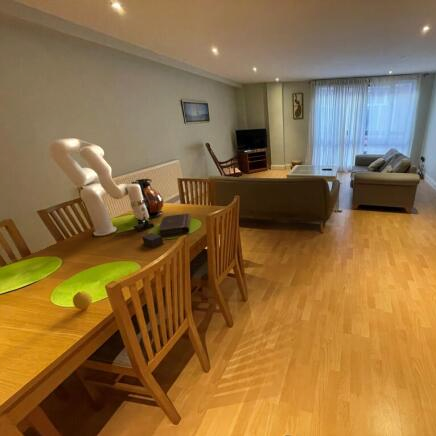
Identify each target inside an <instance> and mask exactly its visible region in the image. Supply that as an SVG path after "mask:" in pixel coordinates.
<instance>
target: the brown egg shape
mask: <svg viewBox="0 0 436 436" xmlns="http://www.w3.org/2000/svg"><path fill="white" fill-rule="evenodd" d="M72 303H73V306H74V307H75V308H76V309H78V310H86V309H88V308H89V307H90V306H91V305H92V303H93V297H92V295H91V294H90V293H89V292H88V291H84V290H83V291H78V292H76V293H75V294H74V295H73V298H72Z"/></svg>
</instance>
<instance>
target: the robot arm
mask: <svg viewBox="0 0 436 436" xmlns="http://www.w3.org/2000/svg"><path fill="white" fill-rule="evenodd" d="M48 153H49V156H50V158H51V159H52V161H53V162H54V163H55V164H56V165H57V166H58V167H59V168H60V169H61V171H62V172H63V173H64V175H65V176H66V177H67V178H68V179H69V180H70V182H71V183H72V184H74V185H75V186H78V187H82V186H83V188H82V190H81V191H80V195H79V196H80V198H81V200H82V201H83V203H84V205H85V207H86V209H87V211H88V215H89V217H90V220H91V222H92V225H93V228H94V230H95V231H94V232H93V235H94V236H95V237H104V236H109V235H110V234H113V233H115V232H117V229H118V228H117V227H116V226H113V223H112V220H111V217H110V212H109V211H108V208H107V205H106V203H105V202H104V200H103V198H104V197H105V196H106V195H108V196H109V197H110V198H112V199H114V200H121V199H123V198H124V197H125V196H128V198H129V202H130V207H131V206H132V207H133V209H132V212H133V216H134V217H135V219H136V222H137V225H139V224H142V223H144V224H143V226H144V229H145V230H147V229H150V228H149V224H148V221H149V220H150V219H148V218H149V215H148V212H147V209H146V206H145V205H144V204H145V203H144V199H143V196H142V192H141V188H140V185H139V184H132V183H120V184H116V182H115V181H114V179H113V178H112V177H113V176H112V167H111V166H110V164H109V163H108V162H107V161H106V159H104V156H105V151H104V149H103V148H102V147H101V146H99V145H97V144H94V143H92V142H88V141H85V140H81V139H78V138H74V137H68V138H59V139H56V140H53V141H52V142H51V143H50V144H49V146H48ZM72 154H79V155H80V157H81V158H82V160H83V161H84V162H85V163H86V164H87V165H88V166H89V167H82V166H81V165H80V164H79V162H77V160H76V159H74V158H73V157H72V156H71V155H72ZM84 186H85V187H84ZM132 207H131V208H132ZM143 218H145V219H143Z"/></svg>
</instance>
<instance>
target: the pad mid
mask: <svg viewBox="0 0 436 436" xmlns="http://www.w3.org/2000/svg"><path fill="white" fill-rule="evenodd" d="M141 238H142V241H143V240H144V241H146V242H148V243H150V244H154V243H157V242H159V241H161V240H162V241H163V237H161V236H160V234H157V233H154V232H149V233H147V234H145V235H142V236H141Z"/></svg>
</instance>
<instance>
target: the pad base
mask: <svg viewBox="0 0 436 436" xmlns="http://www.w3.org/2000/svg"><path fill="white" fill-rule="evenodd" d="M142 241H143V245H145V246H148V247H149V248H152V249H155V248H157V247H159V246H160V247H161V246H162V245H164V242H163V239H162V240H161V241H159V242H157V243H154V244H150V243H148V242H146V241H144V240H143V239H142Z"/></svg>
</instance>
